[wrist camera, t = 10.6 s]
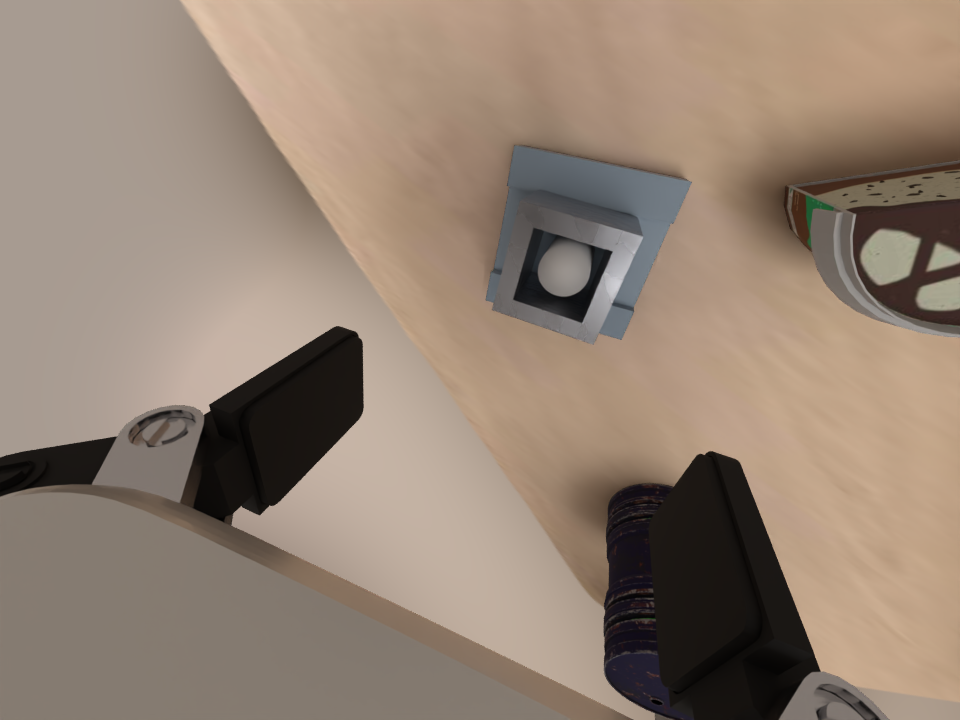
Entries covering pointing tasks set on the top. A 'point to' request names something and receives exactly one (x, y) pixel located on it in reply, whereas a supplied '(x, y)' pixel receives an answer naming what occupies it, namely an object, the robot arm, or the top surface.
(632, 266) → the shaft block
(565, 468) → the top surface
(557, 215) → the grey hollow block
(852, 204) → the food container
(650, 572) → the dark blue barrel
